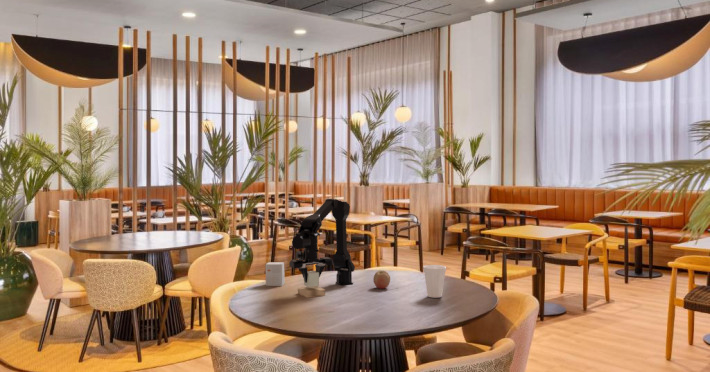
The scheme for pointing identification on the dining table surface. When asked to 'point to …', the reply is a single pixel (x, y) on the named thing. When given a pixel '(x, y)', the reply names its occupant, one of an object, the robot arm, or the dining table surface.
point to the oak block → (311, 291)
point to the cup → (434, 279)
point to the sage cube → (312, 279)
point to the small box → (275, 274)
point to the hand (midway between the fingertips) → (311, 282)
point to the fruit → (381, 279)
